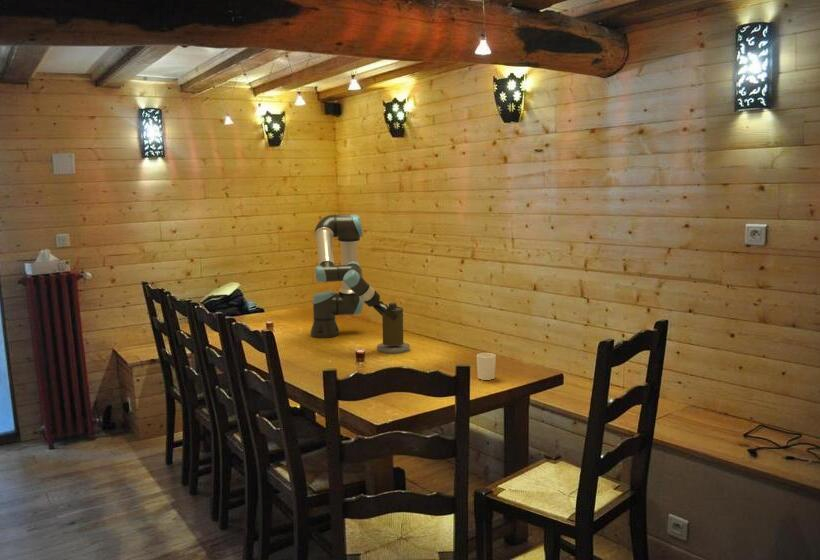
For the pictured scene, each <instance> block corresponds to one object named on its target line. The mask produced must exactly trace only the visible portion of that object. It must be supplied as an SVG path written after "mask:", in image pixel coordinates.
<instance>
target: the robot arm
mask: <svg viewBox="0 0 820 560" xmlns="http://www.w3.org/2000/svg"><path fill="white" fill-rule="evenodd" d="M363 232H364V231H363V226H362V221H361V216H360V215H359V214H352V213H350V214H329V215H325V216H324V217H323V218H322V219H320V220H319V221H318V223H317V224H316V226H315V228H314V231H313V233H314V238H315V240H316V245H317V258H318V265H317V266H315V267H314V271H315V272H314V274H315V280H316V282H321V283H322V282H323V283H329V282H340V283H341V287H340V288H339V289H338V293H336V292H335V291H334V290H326V291H320V292H317V293H315V294H314V295H313V298H312V306H313V307H312V308H313V322H312V326H311V329H310V336H311V337H312V338H319V339H322V338H323V339H324V338H325V339H327V338H334V337H337V336H339V335H340V330H339V329H340V328H339V327H338V324H337V321H336V316H348V315H351V316H354V315H359V314H361V313H362V310H363V307H364V303H365V305H367V306H368V307H369V308H370V307H371V308H373V309H374V310H375V311H376V312H377V313H378V314H380V316H382V312H384V313H385V314H386V315H387V316H389V317H391V318H392V319H393V320H394V321H395V319H396V318H397V317H398V316H397V315H396V314H395V313H394V312H393V311H392V310H391V309H390V308H389V305H387V304H386V303H384V302H383V301H382V300H380V299H381V295H380V294H379V293H378V292H377V290H375V289H374V288H373V287H372V286H371V284H369V283H368V282H367V281H366V280H365V279H364V275H363V270H362V266H361V265H360V264H359V263H358V243H359V242H360V241H361V238H362V237H363V235H364V234H363ZM333 238H337V242H339V243H340V265H339V264H338V265H335V257H334V247H333ZM404 326H405V324H404V323H403V327H404Z"/></svg>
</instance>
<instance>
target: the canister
mask: <svg viewBox="0 0 820 560" xmlns="http://www.w3.org/2000/svg"><path fill="white" fill-rule="evenodd" d="M388 307H389V308H390V309H391V310H392V311H393V312H394V313H395V314H396V315H397V316H398V317H397V318H396V319H395V321H394V320H393V319H392V318H391V317H389V316H387V315H386V314H385V313H384V312H382V315H381V318H382V319H381V320H382V342H381V343H382V344H383V345H387V346H398V345H402V344H404V343H405V342H404V326H403V324H404V307H401V306H398V305H397V302H389V303H388Z"/></svg>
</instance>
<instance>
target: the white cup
mask: <svg viewBox="0 0 820 560" xmlns="http://www.w3.org/2000/svg"><path fill="white" fill-rule="evenodd" d="M496 358H497V355H496V354H495V353H491V352H480V353H477V354H476V368H477V372H476V373H477V379H478V378H479V379H484V380H491V379H494V380H495V376H496V374H495V373H496V366H497V365H496V363H497V362H496V361H497V359H496ZM479 379H478V380H479ZM491 381H492V380H491Z"/></svg>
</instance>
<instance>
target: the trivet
mask: <svg viewBox="0 0 820 560" xmlns="http://www.w3.org/2000/svg"><path fill="white" fill-rule="evenodd" d="M382 343H383V342H381V343H378V344H377V345H376V351H377V352H378V353H381V354H387V355H388V354H389V355H396V354H404V352H405V353H408V352H409V351H411V350H410V349H411V347H410V346H411V345H410V344H409V343H406V342H404V344H402V345H398V346H387V345H383V344H382ZM407 351H408V352H407Z"/></svg>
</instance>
